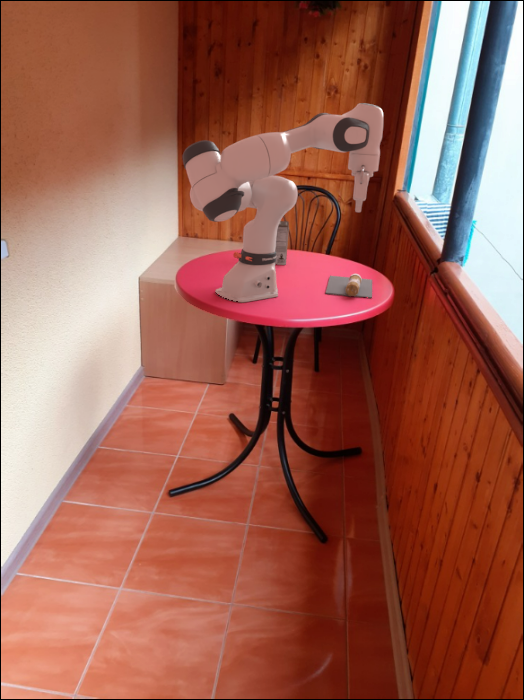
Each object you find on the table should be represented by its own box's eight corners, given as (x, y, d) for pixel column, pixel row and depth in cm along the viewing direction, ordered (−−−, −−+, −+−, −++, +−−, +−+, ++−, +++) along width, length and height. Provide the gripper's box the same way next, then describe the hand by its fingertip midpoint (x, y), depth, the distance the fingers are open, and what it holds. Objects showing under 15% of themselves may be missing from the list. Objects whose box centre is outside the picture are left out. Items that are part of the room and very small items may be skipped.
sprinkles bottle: (343, 287, 194) (346, 276, 206) (349, 298, 195) (352, 287, 207) (355, 281, 193) (358, 271, 205) (361, 293, 194) (363, 282, 206)
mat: (371, 298, 195) (372, 297, 195) (325, 293, 198) (325, 292, 197) (372, 280, 215) (372, 279, 215) (329, 276, 217) (330, 275, 217)
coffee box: (270, 258, 238) (272, 220, 232) (286, 259, 239) (288, 221, 232) (270, 264, 230) (273, 224, 224) (286, 265, 230) (289, 225, 224)
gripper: (374, 168, 157) (368, 218, 162) (374, 161, 175) (368, 207, 181) (351, 166, 158) (346, 216, 163) (353, 160, 176) (348, 205, 182)
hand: (358, 211), depth 172 cm, fingers closed
